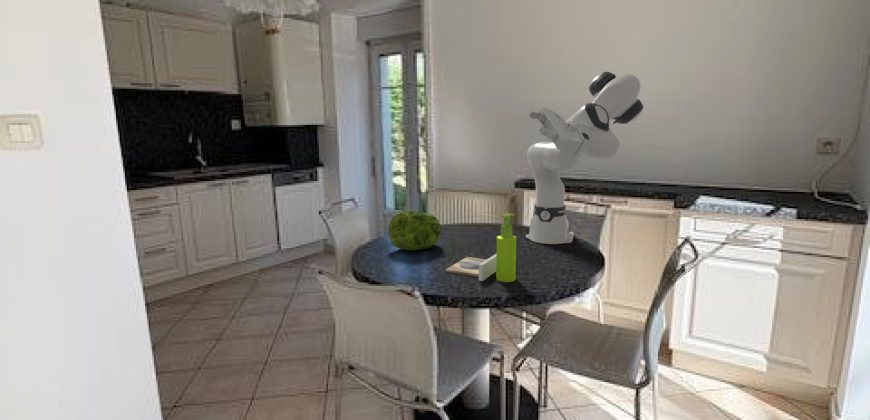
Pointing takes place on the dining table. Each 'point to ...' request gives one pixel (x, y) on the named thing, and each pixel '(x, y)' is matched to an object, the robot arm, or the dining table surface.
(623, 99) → the robot arm
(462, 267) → the oak board
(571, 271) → the dining table surface
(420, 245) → the lettuce
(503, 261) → the soap dispenser
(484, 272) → the low wall
